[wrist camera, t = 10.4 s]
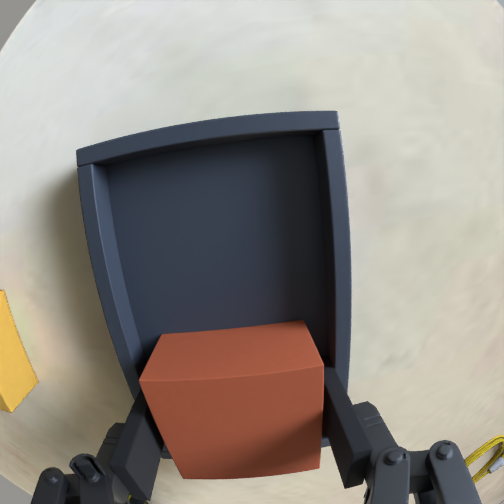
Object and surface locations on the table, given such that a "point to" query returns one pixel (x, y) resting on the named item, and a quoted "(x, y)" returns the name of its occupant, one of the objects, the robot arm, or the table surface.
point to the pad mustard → (12, 362)
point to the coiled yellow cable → (496, 461)
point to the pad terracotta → (238, 400)
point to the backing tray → (220, 232)
